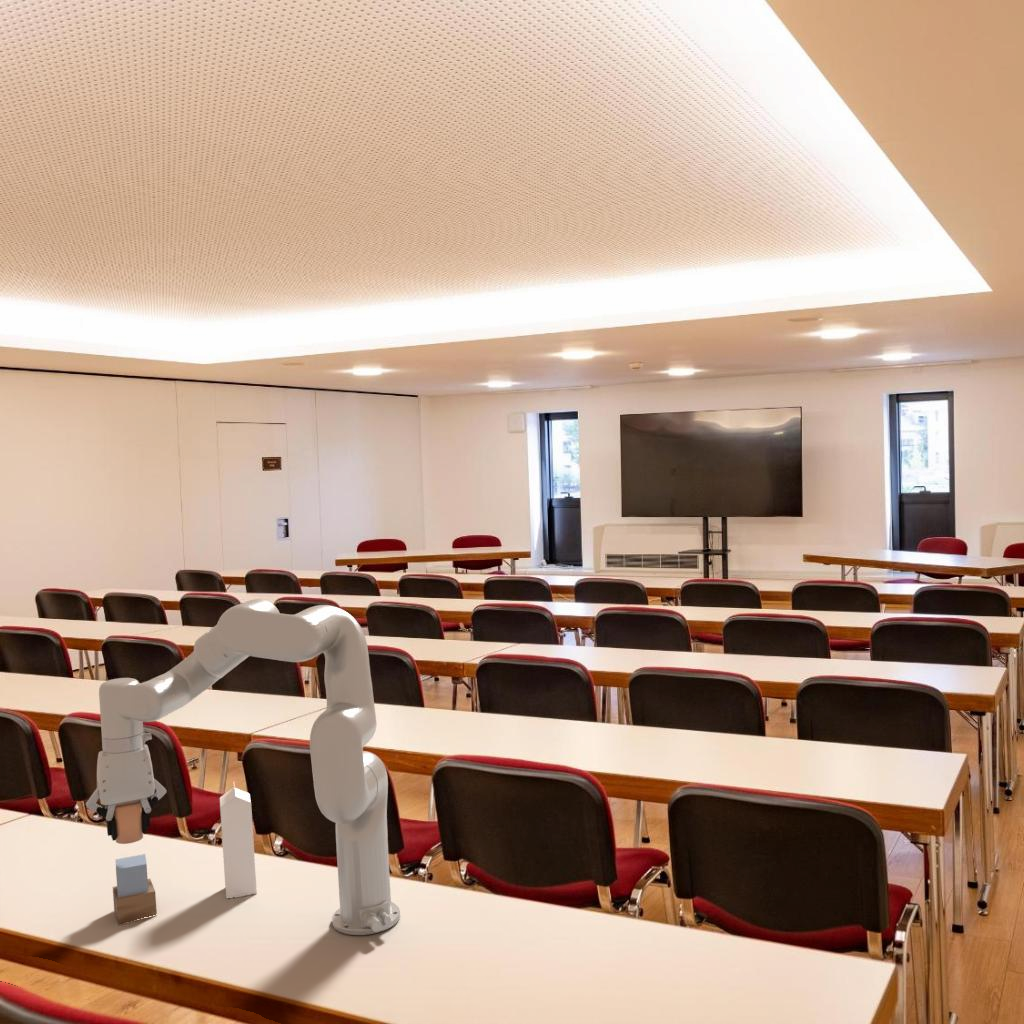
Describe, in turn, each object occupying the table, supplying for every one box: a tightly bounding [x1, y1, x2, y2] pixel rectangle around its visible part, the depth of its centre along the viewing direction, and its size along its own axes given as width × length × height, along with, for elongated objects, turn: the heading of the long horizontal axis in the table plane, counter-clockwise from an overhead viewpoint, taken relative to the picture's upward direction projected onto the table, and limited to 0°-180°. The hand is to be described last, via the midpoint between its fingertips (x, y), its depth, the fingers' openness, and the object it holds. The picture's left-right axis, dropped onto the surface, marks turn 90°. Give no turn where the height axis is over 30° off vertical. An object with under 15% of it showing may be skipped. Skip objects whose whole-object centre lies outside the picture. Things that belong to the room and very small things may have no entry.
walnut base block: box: [112, 878, 158, 926], centre depth 194 cm, size 7×7×5 cm
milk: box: [219, 780, 258, 900], centre depth 202 cm, size 6×6×22 cm
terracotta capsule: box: [113, 800, 144, 845], centre depth 194 cm, size 5×5×7 cm
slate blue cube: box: [115, 853, 149, 898], centre depth 194 cm, size 6×6×6 cm
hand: (129, 834), depth 194 cm, fingers closed on terracotta capsule, 5 cm apart
